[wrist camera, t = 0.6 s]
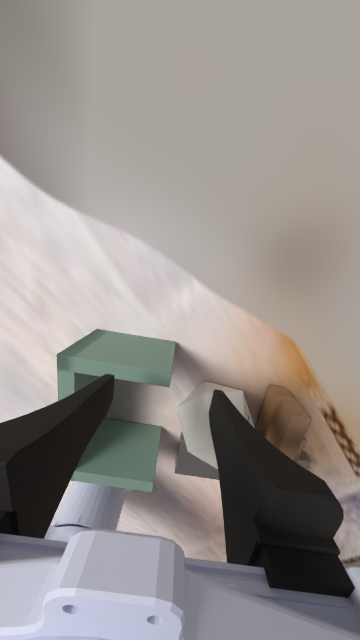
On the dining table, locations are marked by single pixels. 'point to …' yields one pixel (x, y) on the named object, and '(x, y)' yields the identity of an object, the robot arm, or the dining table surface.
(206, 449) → the die
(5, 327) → the dining table surface
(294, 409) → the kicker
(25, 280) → the dining table surface
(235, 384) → the dining table surface
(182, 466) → the rail
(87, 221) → the dining table surface
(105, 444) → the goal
